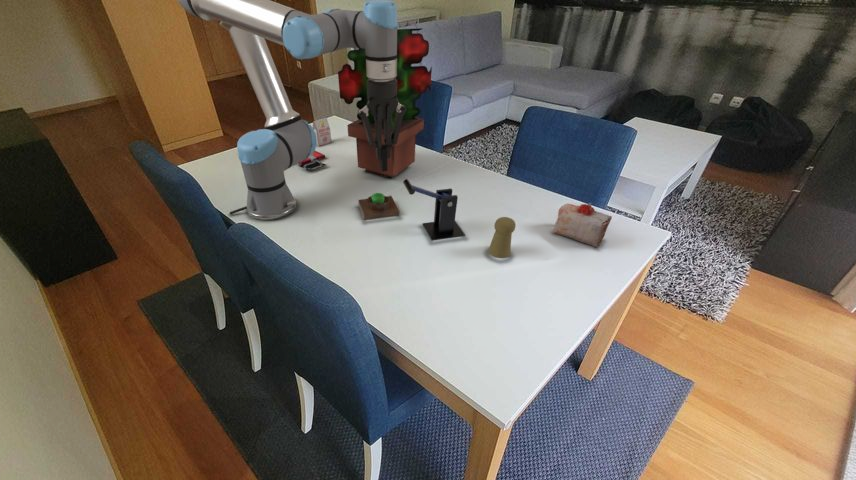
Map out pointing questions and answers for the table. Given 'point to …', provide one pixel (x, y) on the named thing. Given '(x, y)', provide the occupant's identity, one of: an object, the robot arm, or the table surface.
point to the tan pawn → (502, 237)
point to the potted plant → (408, 90)
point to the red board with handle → (312, 161)
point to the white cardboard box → (322, 131)
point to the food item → (582, 223)
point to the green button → (378, 198)
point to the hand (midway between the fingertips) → (383, 169)
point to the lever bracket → (444, 218)
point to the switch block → (378, 208)
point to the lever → (422, 190)
